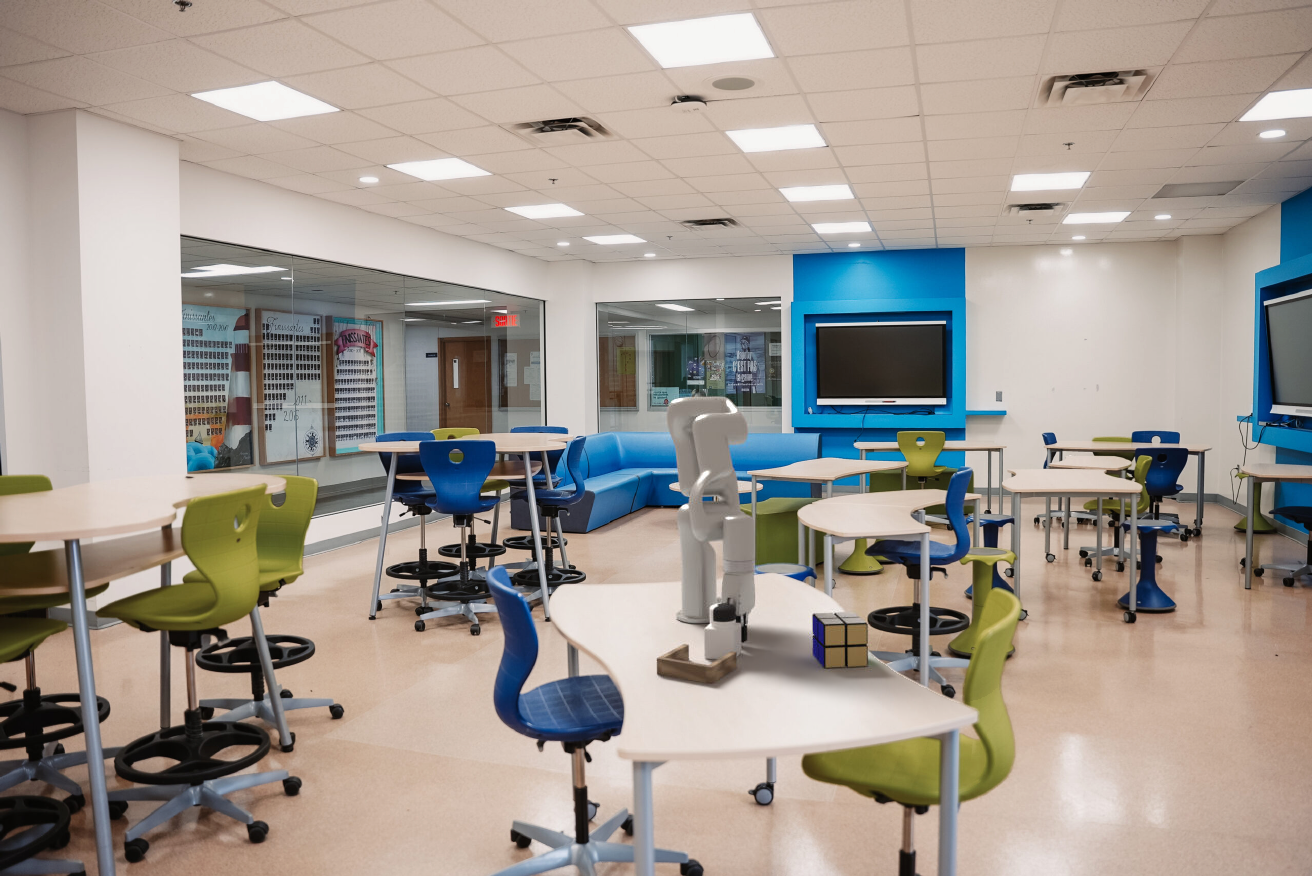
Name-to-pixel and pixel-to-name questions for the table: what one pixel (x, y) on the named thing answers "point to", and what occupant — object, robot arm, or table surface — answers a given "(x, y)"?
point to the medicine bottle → (722, 632)
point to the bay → (694, 666)
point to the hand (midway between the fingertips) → (739, 641)
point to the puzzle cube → (840, 640)
